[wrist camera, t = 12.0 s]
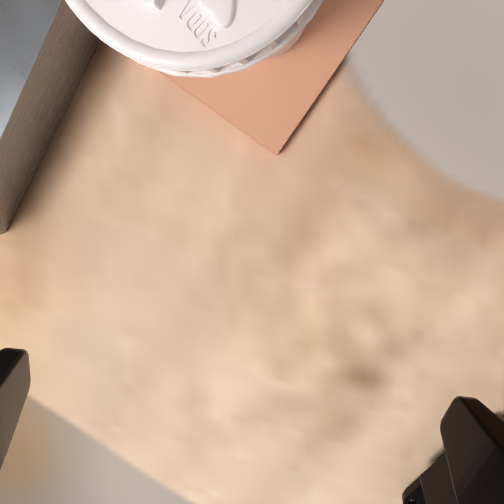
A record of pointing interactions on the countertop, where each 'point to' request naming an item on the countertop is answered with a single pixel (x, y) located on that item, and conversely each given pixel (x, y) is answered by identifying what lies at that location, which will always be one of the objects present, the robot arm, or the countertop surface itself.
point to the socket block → (35, 86)
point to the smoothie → (197, 31)
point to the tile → (285, 76)
